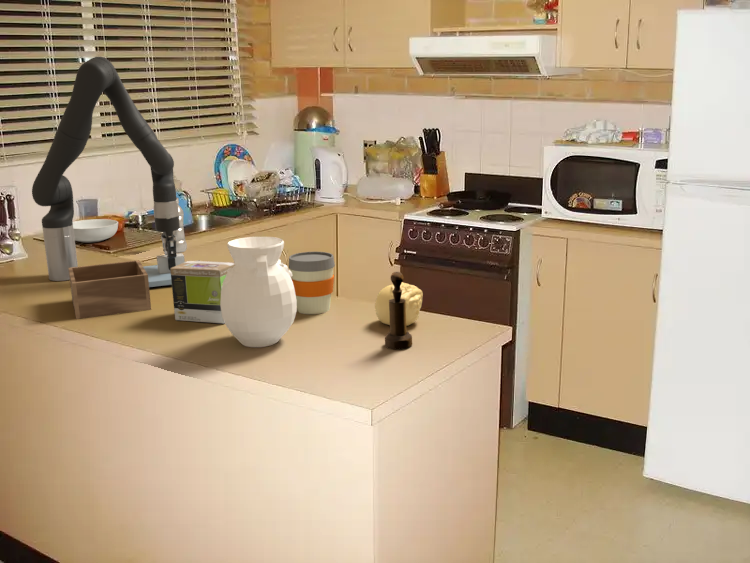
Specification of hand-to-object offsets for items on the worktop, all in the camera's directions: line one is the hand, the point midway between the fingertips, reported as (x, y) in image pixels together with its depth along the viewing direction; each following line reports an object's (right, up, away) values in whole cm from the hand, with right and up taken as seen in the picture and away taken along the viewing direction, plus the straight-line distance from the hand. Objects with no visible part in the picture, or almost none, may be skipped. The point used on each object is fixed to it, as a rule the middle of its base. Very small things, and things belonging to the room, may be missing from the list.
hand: (171, 267), depth 272 cm
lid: (0, -3, +1) cm, 3 cm away
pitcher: (+37, -19, -62) cm, 75 cm away
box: (-11, -11, -27) cm, 31 cm away
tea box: (+20, -14, -41) cm, 48 cm away
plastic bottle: (-7, +6, +38) cm, 39 cm away
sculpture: (+71, -15, -51) cm, 89 cm away
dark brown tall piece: (+71, -20, -68) cm, 100 cm away
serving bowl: (-46, +12, +65) cm, 80 cm away
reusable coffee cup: (+48, -12, -37) cm, 62 cm away
